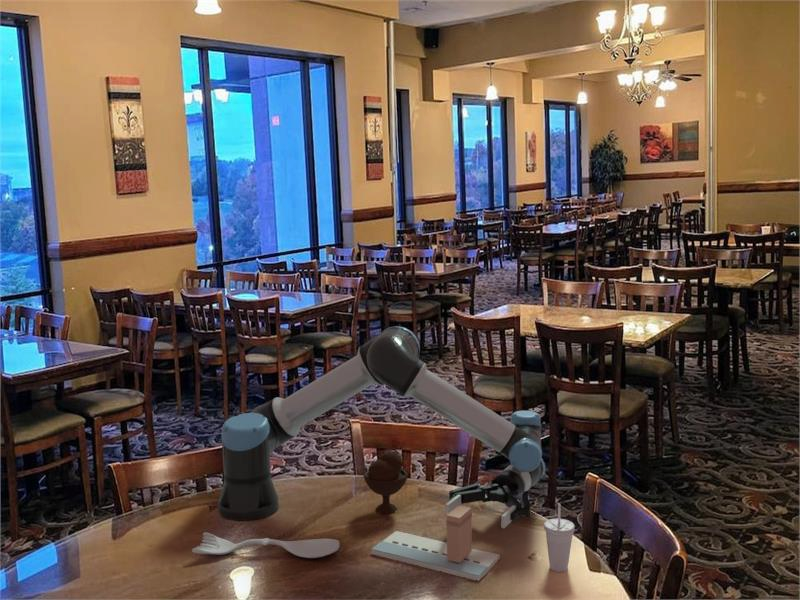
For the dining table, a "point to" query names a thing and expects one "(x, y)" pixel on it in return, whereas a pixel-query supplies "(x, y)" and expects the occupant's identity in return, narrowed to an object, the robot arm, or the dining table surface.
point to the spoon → (298, 548)
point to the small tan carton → (459, 533)
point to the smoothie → (559, 541)
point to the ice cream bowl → (386, 479)
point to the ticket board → (434, 555)
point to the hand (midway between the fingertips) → (474, 516)
